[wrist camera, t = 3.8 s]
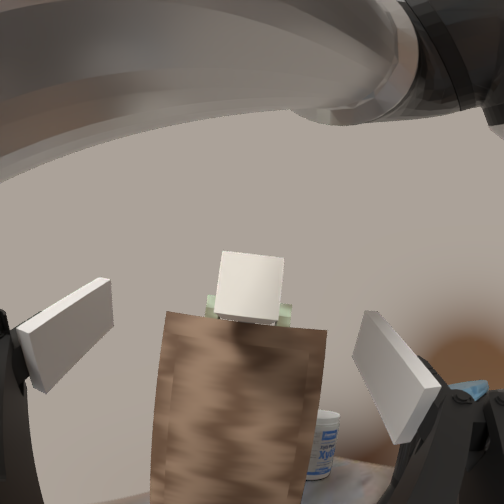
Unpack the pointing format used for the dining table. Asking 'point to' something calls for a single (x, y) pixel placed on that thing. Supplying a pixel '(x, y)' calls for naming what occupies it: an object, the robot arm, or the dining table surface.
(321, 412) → the supplement tub
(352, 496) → the dining table surface
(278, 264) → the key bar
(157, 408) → the shelf
